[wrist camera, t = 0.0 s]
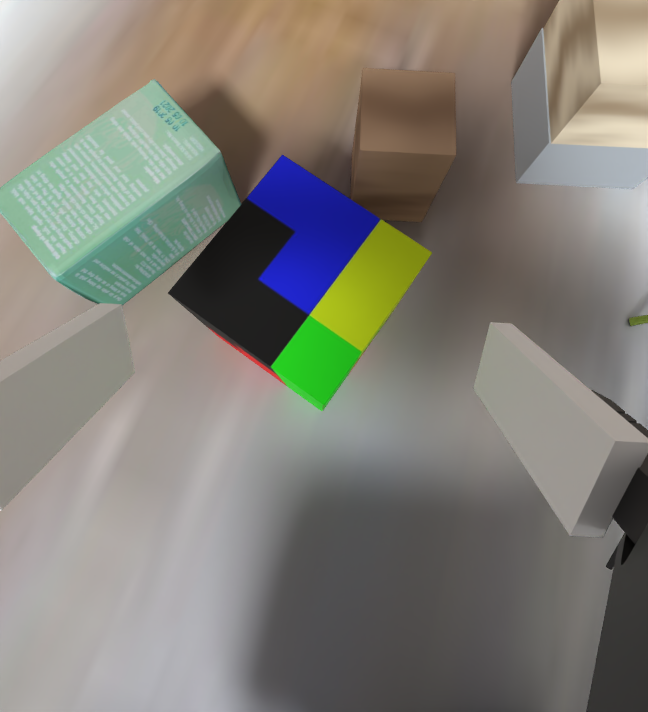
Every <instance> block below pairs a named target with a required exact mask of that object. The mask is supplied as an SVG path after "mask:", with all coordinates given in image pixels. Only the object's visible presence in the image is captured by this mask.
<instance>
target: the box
mask: <svg viewBox="0 0 648 712" xmlns="http://www.w3.org/2000/svg"><path fill="white" fill-rule="evenodd" d="M240 205H241V202H240V199H239V197H238V194H237V192H236V189H235V187H234V184H233V182H232V179H231V177H230V174H229V172H228V169H227V166H226V164H225V161H224V158H223V156H222V154H221V152H220V150H219V149H218V148H217V147H216V146H215V145H214V144H213V142H212V141H211V140H210V139H209V138H208V137H207V136H206V135H205V134H204V133H203V131H202V130H201V129H200V128H199V127H198V126H197V125H196V124H195V123H194V121H193V120H192V119H191V118H190V117H189V116H188V115H187V114H186V113H185V112H184V110H183V109H182V108H181V107H180V106H179V105H178V104H177V103H176V102H175V101H174V99H173V98H172V97H171V96H170V95H169V94H168V93H167V92H166V91H165V89H164V88H163V87H162V86H161V85H160V84H159V83H158V82H157V81H156V80H155V79H154V80H151V81H150V82H149V84H147V85H146V86H144V87H143V88H141V89H139V90H138V91H136V92H135V93H133V94H132V95H130V96H129V97H127V98H126V99H124V100H123V101H121V102H120V103H118V104H117V105H115V106H114V107H113V108H111V109H110V110H108V111H107V112H105V113H104V114H103V115H101V116H100V117H98V118H97V119H96V120H94V121H93V122H91V123H90V124H88V125H87V126H85V127H84V128H83V129H81V130H80V131H78V132H77V133H75V134H74V135H73V136H71V137H70V138H68V139H67V140H65V141H64V142H63V143H61V144H60V145H58V146H57V147H55V148H54V149H52V150H51V151H50V152H48V153H47V154H45V155H44V156H43V157H41V158H40V159H38V160H37V161H36V162H34V163H33V164H32V165H30V166H29V167H27V168H26V169H25V170H23V171H22V172H21V173H19V174H18V175H17V176H15V177H14V178H12V179H11V180H10V181H8V182H7V183H6V184H4V185H3V186H2V187H1V188H0V213H1V214H2V215H3V217H4V218H5V219H6V220H7V221H8V223H9V224H10V225H11V226H12V228H13V229H14V230H15V231H16V233H17V234H18V235H19V236H20V238H21V239H22V240H23V242H24V243H25V244H26V245H27V246H28V248H29V249H30V250H31V251H32V253H33V254H34V255H35V256H36V258H37V259H38V260H39V261H40V263H41V264H42V265H43V266H44V268H45V269H46V270H47V271H48V273H49V274H50V275H51V276H52V277H53V278H54V279H55V280H56V281H58V282H59V283H61V284H62V285H64V286H65V287H66V288H68V289H70V290H71V291H73V292H75V293H77V294H78V295H80V296H82V297H84V298H85V299H88V300H90V301H92V302H95V303H97V304H100V303H106V304H122V305H123V304H125V303H126V302H127V301H128V300H130V299H131V298H132V297H133V296H135V295H136V294H137V293H139V292H140V291H141V290H142V289H144V288H145V287H146V286H147V285H149V284H150V283H151V282H152V281H154V280H155V279H156V278H158V277H159V276H160V275H161V274H163V273H164V272H165V271H166V270H167V269H169V268H170V267H171V266H172V265H174V264H175V263H176V262H177V261H178V260H180V259H181V258H182V257H183V256H185V255H186V254H187V253H188V252H189V251H191V250H192V249H193V248H194V247H195V246H197V245H198V244H199V243H200V242H202V241H203V240H204V239H205V238H206V237H208V236H209V235H210V234H211V233H213V232H214V231H215V230H216V229H218V228H219V227H220V226H222V225H223V224H224V223H225V222H227V221H228V220H229V219H230V217H231V216H232V215H233V214H234V213H235V211H236V210H237V209H238V208H239V207H240Z"/></svg>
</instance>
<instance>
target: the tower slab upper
mask: <svg viewBox="0 0 648 712" xmlns="http://www.w3.org/2000/svg"><path fill="white" fill-rule="evenodd" d="M543 32H544V47H545V63H546V78H547V92H548V107H549V122H550V137H551V144H566V145H587V146H608V147H629V148H648V0H559V2H558V4H557V5H556V7H555V9H554V11H553V12H552V14H551V16H550V18H549V19H548V21H547V23H546V25H545V27H544V28H543Z"/></svg>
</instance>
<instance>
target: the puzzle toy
mask: <svg viewBox="0 0 648 712" xmlns="http://www.w3.org/2000/svg"><path fill="white" fill-rule="evenodd" d="M431 254H432V252H430V251H429V250H427V249H426V248H424V247H423V246H421V245H420V244H418V243H417V242H415V241H414V240H412V239H411V238H409V237H408V236H406V235H404V234H403V233H401V232H400V231H398V230H397V229H395V228H394V227H392V226H391V225H389V224H388V223H386V222H385V221H383V220H382V219H380V218H378V217H377V216H375V215H374V214H372V213H371V212H369V211H368V210H366V209H365V208H363V207H362V206H360V205H359V204H357V203H356V202H354V201H353V200H351V199H349V198H348V197H346V196H345V195H343V194H342V193H340V192H339V191H337V190H336V189H334V188H333V187H331V186H330V185H328V184H327V183H325V182H324V181H322V180H320V179H319V178H317V177H316V176H314V175H313V174H311V173H310V172H308V171H307V170H305V169H304V168H302V167H301V166H299V165H298V164H296V163H295V162H293V161H291V160H290V159H288V158H287V157H285V156H284V155H282V156H281V157H280V158H279V159H278V161H277V162H276V163H275V164H274V166H273V167H272V168H271V169H270V170H269V172H268V173H267V174H266V175H265V176H264V178H263V179H262V180H261V181H260V182H259V184H258V185H257V186H256V187H255V188H254V190H253V191H252V192H251V193H250V194H249V196H248V197H247V198H246V199H245V201H244V202H243V203H242V204H241V205H240V207H239V208H238V209H237V210H236V211H235V213H234V214H233V215H232V216H231V217H230V219H229V220H228V221H227V222H226V223H225V225H224V226H223V227H222V228H221V230H220V231H219V232H218V233H217V234H216V236H215V237H214V238H213V239H212V240H211V242H210V243H209V244H208V245H207V246H206V248H205V249H204V250H203V251H202V252H201V254H200V255H199V256H198V257H197V258H196V260H195V261H194V262H193V263H192V265H191V266H190V267H189V268H188V269H187V271H186V272H185V273H184V274H183V275H182V277H181V278H180V279H179V280H178V281H177V283H176V284H175V285H174V286H173V287H172V289H171V290H170V291H169V292H168V294H170V295H171V296H172V297H173V298H174V299H175V300H177V301H178V302H179V303H180V304H181V305H182V306H184V307H185V308H186V309H187V310H188V311H189V312H190V313H192V314H193V315H194V316H195V317H196V318H197V319H199V320H200V321H201V322H202V323H203V324H204V325H206V326H207V327H208V328H209V329H210V330H211V331H212V332H214V333H215V334H216V335H217V336H218V337H220V338H221V339H223V340H224V341H225V342H227V343H228V344H229V345H231V346H232V347H234V348H235V349H236V350H238V351H239V352H241V353H242V354H243V355H245V356H246V357H247V358H249V359H250V360H252V361H253V362H254V363H256V364H257V365H259V366H260V367H261V368H263V369H264V370H265V371H267V372H268V373H270V374H271V375H272V376H274V377H275V378H277V379H278V380H279V381H281V382H282V383H283V384H285V385H286V386H288V387H289V388H290V389H292V390H293V391H295V392H296V393H297V394H299V395H300V396H302V397H303V398H304V399H306V400H307V401H308V402H310V403H311V404H313V405H314V406H315V407H317V408H318V409H320V410H321V411H323V410H324V408H325V407H326V405H327V404H328V403H329V401H330V400H331V398H332V397H333V395H334V394H335V393H336V391H337V390H338V388H339V387H340V386H341V384H342V383H343V381H344V380H345V378H346V377H347V376H348V374H349V373H350V371H351V370H352V369H353V367H354V366H355V364H356V363H357V362H358V360H359V359H360V357H361V356H362V354H363V353H364V352H365V350H366V349H367V347H368V346H369V345H370V343H371V342H372V340H373V339H374V337H375V336H376V335H377V333H378V332H379V330H380V329H381V328H382V326H383V325H384V323H385V322H386V321H387V319H388V318H389V316H390V315H391V313H392V312H393V311H394V309H395V308H396V306H397V305H398V303H399V302H400V300H401V299H402V297H403V296H404V294H405V293H406V291H407V290H408V288H409V287H410V285H411V284H412V282H413V281H414V279H415V278H416V276H417V275H418V273H419V272H420V270H421V269H422V267H423V266H424V264H425V263H426V261H427V260H428V258H429V257H430V255H431Z"/></svg>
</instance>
